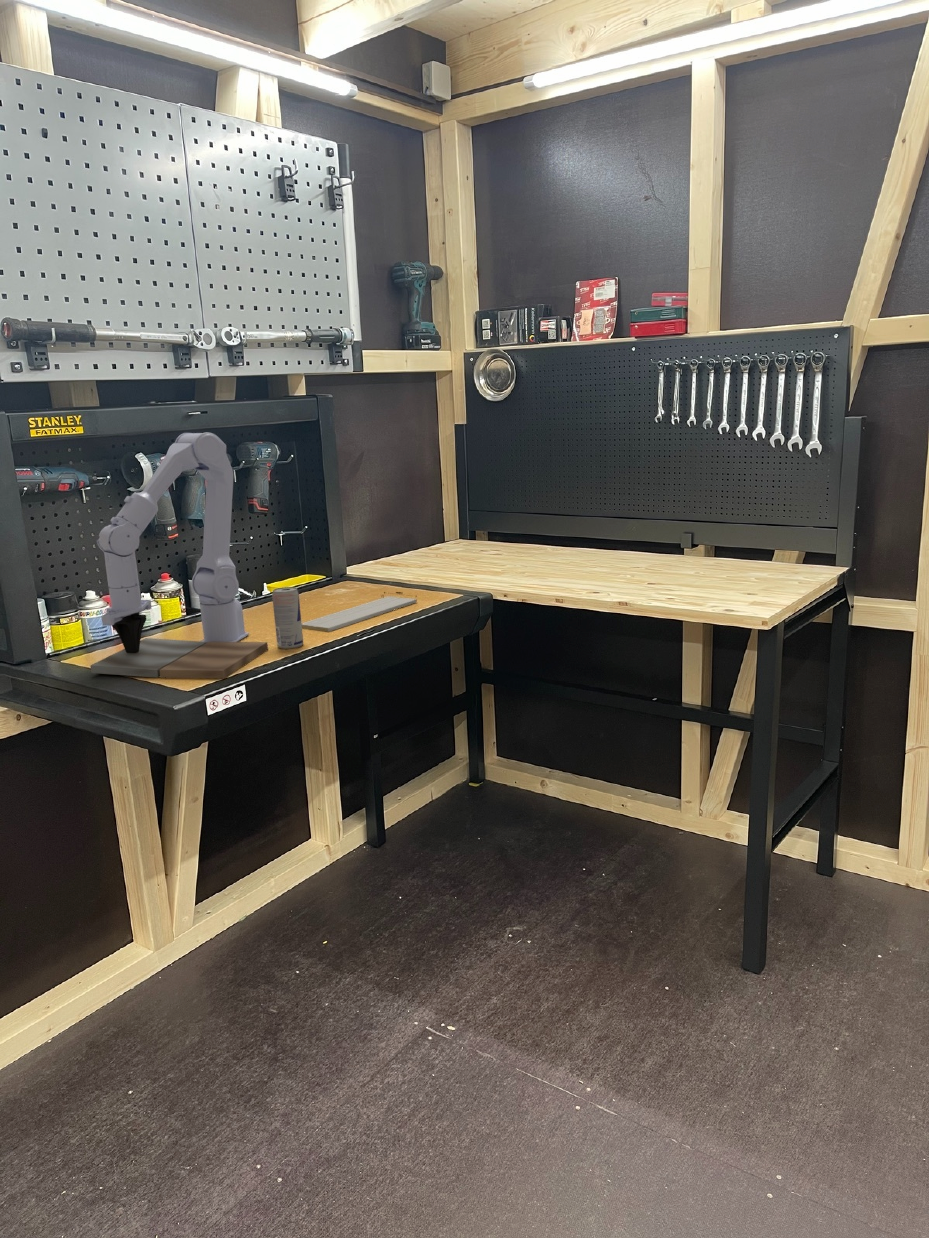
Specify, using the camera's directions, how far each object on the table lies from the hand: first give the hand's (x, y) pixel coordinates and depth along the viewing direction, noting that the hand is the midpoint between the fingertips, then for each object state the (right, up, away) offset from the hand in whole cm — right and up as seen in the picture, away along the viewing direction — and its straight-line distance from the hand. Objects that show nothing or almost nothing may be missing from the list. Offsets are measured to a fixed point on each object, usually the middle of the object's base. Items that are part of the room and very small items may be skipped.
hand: (132, 652), depth 185 cm
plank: (+4, -2, 0) cm, 4 cm away
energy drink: (+30, +1, +7) cm, 31 cm away
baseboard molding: (+41, +7, +33) cm, 53 cm away
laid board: (+18, -2, -3) cm, 18 cm away
